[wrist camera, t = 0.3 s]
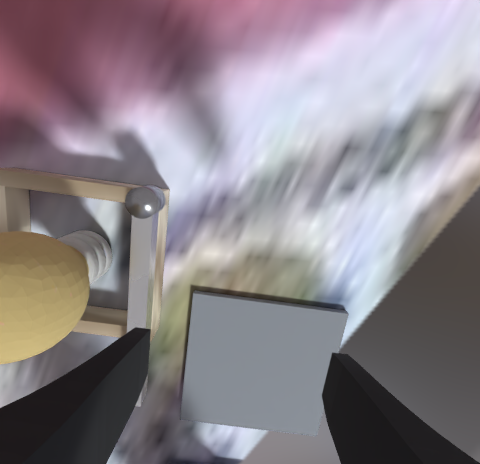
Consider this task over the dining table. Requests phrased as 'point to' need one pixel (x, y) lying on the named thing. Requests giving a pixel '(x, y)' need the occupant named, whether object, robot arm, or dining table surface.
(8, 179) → the square wooden frame
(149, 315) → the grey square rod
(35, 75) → the dining table surface
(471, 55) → the dining table surface
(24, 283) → the light bulb
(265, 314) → the gray square panel
